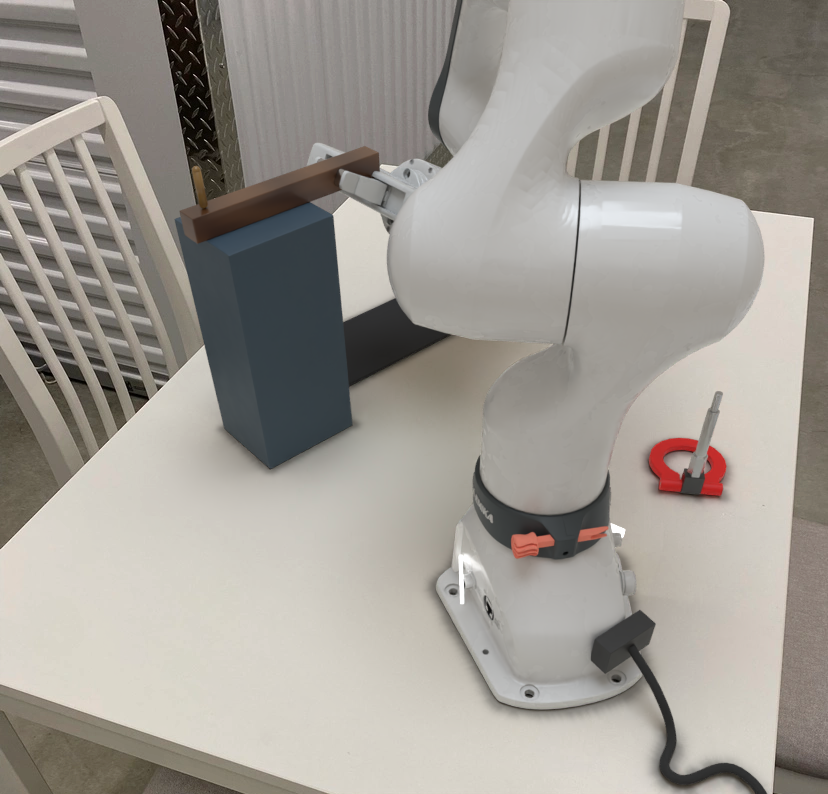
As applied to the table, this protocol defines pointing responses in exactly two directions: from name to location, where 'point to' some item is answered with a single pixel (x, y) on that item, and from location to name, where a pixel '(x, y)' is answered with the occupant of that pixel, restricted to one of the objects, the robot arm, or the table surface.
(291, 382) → the stand
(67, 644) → the table surface
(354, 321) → the mat
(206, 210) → the hanger bar
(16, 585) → the table surface
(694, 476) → the tow hook
